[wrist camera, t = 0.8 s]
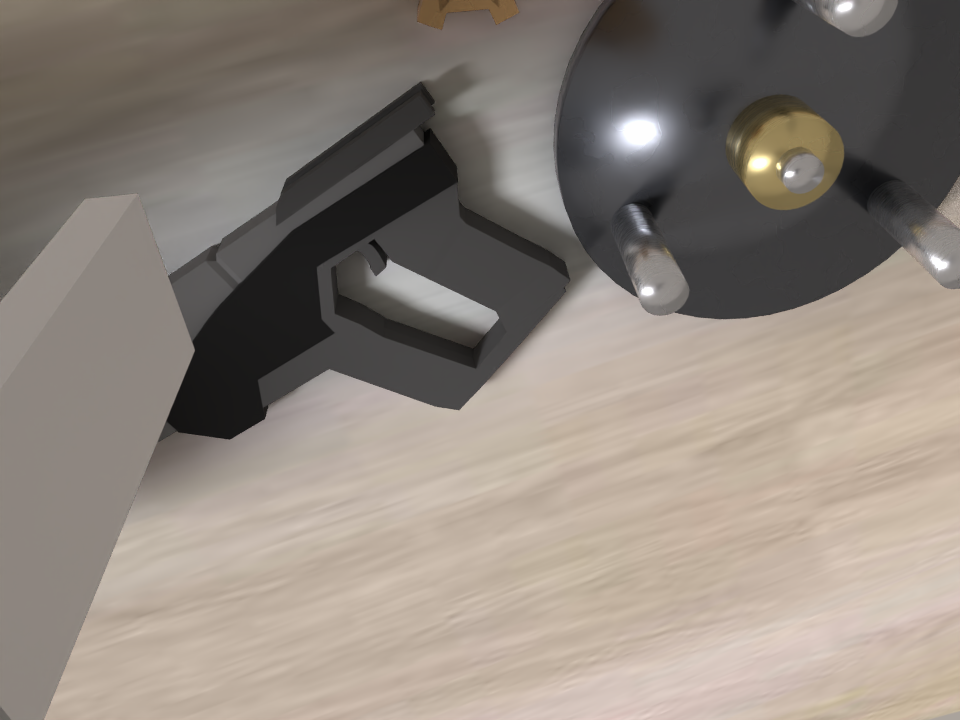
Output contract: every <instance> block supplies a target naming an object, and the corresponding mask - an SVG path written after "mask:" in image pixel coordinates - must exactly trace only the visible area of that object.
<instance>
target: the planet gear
mask: <svg viewBox="0 0 960 720" xmlns="http://www.w3.org/2000/svg"><path fill="white" fill-rule="evenodd" d="M483 9H489V11H490V13H491V15H492V17H493V19H494V21H495V23H496V25H497V24H499V23H501V22H503V21H505V20H506V19H508V18H510V17H512V16H514V15H516V14H517V13H519V10H518V8H517V5H516V2H515V0H420V1H419V4H418V13H417V22H419V23H422V24H425V25H428V26H431V27H434V28H437V29H440V30H442V27H443V24H444V20H445V17H446V13H450V12H461V11H472V10H483Z"/></svg>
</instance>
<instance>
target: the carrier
mask: <svg viewBox="0 0 960 720" xmlns="http://www.w3.org/2000/svg"><path fill="white" fill-rule="evenodd" d="M554 158H555V169H556V175H557V179H558V183H559V188H560V192H561V196H562V199H563V202H564V205H565V209H566V211H567V214H568V216H569V219H570V221H571V224H572V226H573V229H574V231H575V233H576V235H577V236H578V238H579V240H580V242H581V243H582V245H583V247H584V248H585V250H586V252H587V253H588V254H589V255H590V257H591V258H592V259H593V260H594V262H595V263H596V264H597V265H598V267H599V268H600V269H601V270H602V271H603V272H604V273H606V274H607V275H608V276H609V277H610V278H611V279H612V280H613V281H614V282H615V283H616V284H618V285H619V286H621V287H622V288H624V289H625V290H627V291H628V292H630V293H631V294H633V295H634V296H636V297H638V298H639V300H640V303H641V305H642V307H643V308H644V309H645V310H646V311H647V312H648V313H650V314H653V315H659V316H661V315H668V314H671V313H673V312H675V313H679V314H684V315H689V316H694V317H701V318H713V319H739V318H750V317H757V316H764V315H770V314H774V313H778V312H782V311H786V310H790V309H794V308H797V307H800V306H803V305H805V304H808V303H811V302H814V301H816V300H819V299H821V298H823V297H825V296H827V295H830V294H832V293H834V292H836V291H838V290H840V289H842V288H844V287H846V286H847V285H849V284H851V283H852V282H854V281H856V280H857V279H859V278H861V277H863V276H864V275H866V274H867V273H869V272H870V271H871V270H873V269H874V268H875V267H877V266H878V265H880V264H881V263H882V262H884V261H885V260H887V259H888V258H889V257H890V256H891V255H892V254H894V253H895V252H896V251H897V250H898V249H899V248H900V247H903V248H904V249H905V250H906V251H908V252H909V253H910V254H911V255H912V256H913V257H914V258H915V259H916V260H917V261H918V262H919V263H920V264H921V265H922V266H923V267H924V268H925V269H926V270H927V271H928V272H929V273H930V274H931V275H932V276H933V277H934V278H935V279H936V280H937V281H938V282H939V283H940V284H941V285H942V286H943V287H945V288H948V289H960V229H959V228H958V227H957V226H956V225H955V224H953V223H952V222H951V221H950V220H949V219H947V218H946V217H945V216H944V215H943V214H942V213H940V212H939V211H938V210H937V208H938V206H939V205H940V204H941V203H942V201H943V200H944V199H945V197H946V196H947V194H948V193H949V191H950V190H951V188H952V186H953V185H954V183H955V182H956V180H957V178H958V177H959V175H960V0H604V1H603V2H602V4H601V5H600V6H599V8H598V9H597V11H596V12H595V14H594V16H593V17H592V19H591V20H590V22H589V24H588V25H587V27H586V29H585V30H584V32H583V34H582V35H581V37H580V40H579V42H578V44H577V46H576V48H575V51H574V53H573V55H572V57H571V59H570V62H569V64H568V67H567V70H566V73H565V77H564V80H563V83H562V86H561V89H560V93H559V99H558V104H557V110H556V115H555V124H554Z"/></svg>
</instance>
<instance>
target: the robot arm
mask: <svg viewBox="0 0 960 720" xmlns="http://www.w3.org/2000/svg"><path fill="white" fill-rule="evenodd" d="M194 351H195V349H194V346H193V343H192V341H191V338H190V335H189V332H188V330H187V327H186V324H185V321H184V319H183V316H182V313H181V310H180V308H179V305H178V302H177V299H176V297H175V294H174V291H173V288H172V286H171V283H170V280H169V277H168V275H167V272H166V269H165V266H164V264H163V261H162V258H161V255H160V253H159V250H158V247H157V244H156V242H155V239H154V236H153V233H152V231H151V228H150V225H149V222H148V220H147V217H146V214H145V211H144V209H143V206H142V203H141V200H140V198H139V195H138V193H136V194H126V195H117V196H107V197H98V198H88V199H84V200H83V202H82V203H81V204H80V205H79V207H78V208H77V209H76V210H75V211H74V213H73V214H72V215H71V216H70V218H69V219H68V220H67V221H66V222H65V224H64V225H63V226H62V227H61V229H60V230H59V231H58V232H57V233H56V235H55V236H54V237H53V238H52V240H51V241H50V242H49V243H48V244H47V246H46V247H45V248H44V249H43V250H42V252H41V253H40V254H39V255H38V257H37V258H36V259H35V260H34V261H33V263H32V264H31V265H30V266H29V268H28V269H27V270H26V271H25V272H24V274H23V275H22V276H21V277H20V279H19V280H18V281H17V282H16V283H15V285H14V286H13V287H12V288H11V290H10V291H9V292H8V293H7V294H6V296H5V297H4V298H3V299H2V301H1V302H0V720H44V718H45V715H46V713H47V711H48V708H49V706H50V703H51V701H52V698H53V696H54V693H55V691H56V689H57V686H58V684H59V681H60V679H61V676H62V674H63V671H64V669H65V667H66V664H67V662H68V659H69V657H70V654H71V652H72V649H73V647H74V645H75V642H76V640H77V637H78V635H79V632H80V630H81V627H82V625H83V623H84V620H85V618H86V615H87V613H88V610H89V608H90V606H91V603H92V601H93V598H94V596H95V593H96V591H97V588H98V586H99V584H100V581H101V579H102V576H103V574H104V571H105V569H106V566H107V564H108V562H109V559H110V557H111V554H112V552H113V549H114V547H115V544H116V542H117V540H118V537H119V535H120V532H121V530H122V527H123V525H124V522H125V520H126V518H127V515H128V513H129V510H130V508H131V505H132V503H133V500H134V498H135V496H136V493H137V491H138V488H139V486H140V483H141V481H142V478H143V476H144V474H145V471H146V469H147V466H148V464H149V461H150V459H151V456H152V454H153V452H154V449H155V447H156V444H157V442H158V439H159V437H160V434H161V432H162V430H163V427H164V425H165V422H166V420H167V417H168V415H169V412H170V410H171V408H172V405H173V403H174V400H175V398H176V395H177V393H178V390H179V388H180V386H181V383H182V381H183V378H184V376H185V373H186V371H187V369H188V366H189V364H190V361H191V359H192V356H193V354H194Z"/></svg>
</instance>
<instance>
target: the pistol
mask: <svg viewBox="0 0 960 720" xmlns="http://www.w3.org/2000/svg"><path fill="white" fill-rule="evenodd" d="M434 103H435V101H434V99H433V98H432V97H431V95H430V94H429V92H428V91H427V90H426V88H425V87H424V86H423V84H422V83H421V82H420V83H418V84H417V85H415V86H414V87H413V88H411V89H410V90H408V91H407V92H406V93H404V94H403V95H402V96H400V97H399V98H397V99H396V100H395V101H393V102H392V103H391V104H389V105H388V106H386V107H385V108H384V109H382V110H381V111H380V112H378V113H377V114H375V115H374V116H373V117H371V118H370V119H368V120H367V121H366V122H364V123H363V124H362V125H360V126H359V127H357V128H356V129H355V130H353V131H352V132H351V133H349V134H348V135H346V136H345V137H344V138H342V139H341V140H340V141H338V142H337V143H335V144H334V145H333V146H331V147H330V148H328V149H327V150H326V151H324V152H323V153H322V154H320V155H319V156H317V157H316V158H315V159H313V160H312V161H311V162H309V163H308V164H306V165H305V166H304V167H302V168H301V169H300V170H298V171H297V172H295V173H294V174H293V175H291V176H290V177H288V178H287V179H286V182H285V184H284V187H283V189H282V192H281V196H280V198H279V200H278V201H277V202H275V203H274V204H272V205H271V206H269V207H268V208H267V209H265V210H264V211H262V212H261V213H259V214H258V215H256V216H255V217H253V218H252V219H251V220H249V221H248V222H246V223H245V224H243V225H242V226H240V227H239V228H237V229H236V230H235V231H233V232H232V233H230V234H229V235H227V236H226V237H224V238H223V239H222V242H221V244H220V246H219V247H216V246H211V247H210V248H208V249H207V250H205V251H204V252H202V253H201V254H200V255H198V256H197V257H195V258H194V259H192V260H191V261H189V262H188V263H186V264H185V265H184V266H182V267H181V268H179V269H178V270H176V271H175V272H173V273H172V274H170V275H169V276H168V277H169V280H170V283H171V286H172V288H173V291H174V294H175V297H176V299H177V302H178V305H179V308H180V310H181V313H182V316H183V319H184V321H185V324H186V327H187V330H188V332H189V335H190V338H191V341H192V343H193V346H194V349H195V351H194V354H193V356H192V359H191V361H190V364H189V366H188V369H187V371H186V373H185V376H184V378H183V381H182V383H181V386H180V388H179V390H178V393H177V395H176V398H175V400H174V403H173V405H172V408H171V410H170V412H169V415H168V417H167V420H166V422H165V425H164V427H163V430H162V432H161V434H160V437H159V439H158V442H159V441H161V440H163V439H164V438H166V437H168V436H169V435H171V434H173V433H174V432H176V431H178V432H180V433H187V434H195V435H202V436H209V437H216V438H223V439H232V438H233V437H235V436H237V435H239V434H240V433H242V432H244V431H245V430H247V429H249V428H250V427H252V426H254V425H256V424H257V423H259V422H261V421H262V420H264V419H265V417H266V413H267V409H268V405H269V404H271V403H272V402H274V401H276V400H277V399H279V398H281V397H282V396H284V395H286V394H287V393H289V392H291V391H293V390H294V389H296V388H298V387H299V386H301V385H303V384H304V383H306V382H308V381H309V380H311V379H313V378H315V377H316V376H318V375H320V374H321V373H323V372H325V371H326V370H328V369H331V370H334V371H336V372H339V373H342V374H345V375H348V376H351V377H353V378H356V379H359V380H362V381H365V382H368V383H370V384H373V385H376V386H379V387H382V388H385V389H387V390H390V391H393V392H396V393H399V394H402V395H404V396H407V397H410V398H413V399H416V400H419V401H421V402H424V403H427V404H430V405H433V406H436V407H441V408H448V409H455V410H460V409H461V408H462V407H463V406H464V405H465V403H466V402H467V401H468V400H469V399H470V398H471V397H472V396H473V395H474V394H475V393H476V392H477V391H478V390H479V389H480V388H481V387H482V386H483V385H484V383H485V382H486V381H487V380H488V379H489V378H490V377H491V376H492V375H493V374H494V372H495V371H496V370H497V369H498V368H499V367H500V366H501V365H502V364H503V363H504V361H505V360H506V359H507V358H508V357H509V356H510V355H511V354H512V353H513V351H514V350H515V349H516V348H517V347H518V346H519V345H520V344H521V343H522V341H523V340H524V339H525V338H526V337H527V336H528V335H529V333H530V332H531V331H532V330H533V329H534V328H535V326H536V325H537V324H538V323H539V322H540V321H541V320H542V318H543V317H544V316H545V315H546V314H547V313H548V312H549V310H550V309H551V308H552V307H553V306H554V305H555V304H556V302H557V301H558V300H559V299H560V298H561V297H562V296H563V294H564V293H565V292H566V289H565V286H566V285H567V284H568V282H569V281H570V278H569V274H568V271H567V267H566V264H565V262H564V261H562V260H561V259H559V258H558V257H557V256H555V255H554V254H552V253H551V252H549V251H548V250H546V249H544V248H542V247H540V246H538V245H536V244H534V243H532V242H530V241H528V240H526V239H524V238H522V237H520V236H518V235H516V234H514V233H512V232H510V231H508V230H506V229H504V228H502V227H501V226H499V225H497V224H495V223H493V222H491V221H489V220H487V219H485V218H483V217H482V216H480V215H478V214H476V213H474V212H472V211H470V210H468V209H466V208H464V206H463V205H462V204H461V203H460V201H459V200H458V188H457V182H458V177H457V166H456V164H455V163H454V162H453V160H452V159H451V158H450V156H449V155H448V153H447V152H446V150H445V149H444V147H443V146H442V144H441V143H440V142H439V140H438V139H437V137H436V136H435V134H434V133H433V131H432V130H431V129H428V130H427V131H425V132H424V131H423V130H422V129H421V127H420V126H419V125H421V124H422V123H424V122H425V121H426V120H428V119H429V118H431V117H432V116H433V115H435V110H434V108H433V107H432V106H431V105H433V104H434ZM383 250H384V251H385V252H386V254H387V255H388V256H389V258H390V259H391V260H392V261H393V262H394V263H396V264H398V265H400V266H403V267H405V268H407V269H409V270H411V271H413V272H415V273H417V274H419V275H421V276H424V277H426V278H428V279H430V280H432V281H434V282H436V283H438V284H440V285H442V286H444V287H446V288H448V289H451V290H453V291H455V292H457V293H459V294H461V295H463V296H465V297H467V298H469V299H471V300H473V301H476V302H478V303H480V304H482V305H484V306H486V307H488V308H490V309H492V310H494V311H496V312H497V314H498V316H499V320H498V321H497V322H496V323H495V324H494V325H493V326H492V328H491V329H490V330H489V331H488V332H487V334H486V335H485V336H484V337H483V339H482V340H481V341H480V342H479V343H478V345H477V346H476V347H475V348H474V349H472V348H469V347H466V346H463V345H460V344H458V343H455V342H452V341H449V340H446V339H443V338H440V337H438V336H435V335H432V334H429V333H426V332H423V331H421V330H418V329H415V328H412V327H409V326H406V325H403V324H401V323H398V322H395V321H392V320H389V319H386V318H385V317H383V316H382V315H380V314H378V313H376V312H375V311H373V310H371V309H369V308H368V307H366V306H364V305H362V304H360V303H358V302H355V301H353V300H351V299H348V298H346V297H344V296H341V295H339V294H338V288H337V276H336V265H337V264H338V263H339V262H341V261H342V260H344V259H345V258H347V257H348V256H350V255H351V254H353V253H354V252H356V251H359V252H361V253H362V254H363V255H364V257H365V258H366V259H367V260H368V262H369V264H370V268H371V270H372V271H373V273H374V274H375V276H377V275H378V274H379V273H380V272H381V271H383V270H384V269H385V268H386V264H387V256H386V254H385V253H384V251H383ZM158 442H157V443H158Z"/></svg>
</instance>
